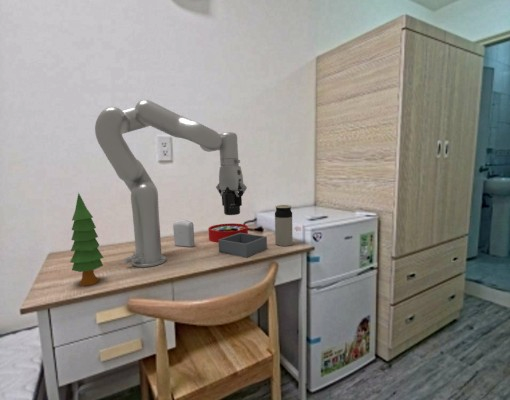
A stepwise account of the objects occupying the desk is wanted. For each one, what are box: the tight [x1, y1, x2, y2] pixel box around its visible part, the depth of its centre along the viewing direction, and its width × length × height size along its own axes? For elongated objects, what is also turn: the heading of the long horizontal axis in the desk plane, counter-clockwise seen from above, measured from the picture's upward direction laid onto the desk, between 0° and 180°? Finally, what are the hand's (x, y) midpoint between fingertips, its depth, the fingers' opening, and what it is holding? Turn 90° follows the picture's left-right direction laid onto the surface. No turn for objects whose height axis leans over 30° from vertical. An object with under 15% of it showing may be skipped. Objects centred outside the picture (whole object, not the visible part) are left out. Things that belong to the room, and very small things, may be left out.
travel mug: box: [274, 204, 294, 247], centre depth 139 cm, size 8×8×18 cm
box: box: [218, 233, 268, 259], centre depth 131 cm, size 15×15×6 cm
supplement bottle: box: [223, 187, 241, 216], centre depth 127 cm, size 7×7×12 cm
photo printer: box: [172, 219, 195, 248], centre depth 141 cm, size 10×4×12 cm, turn 63°
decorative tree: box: [69, 192, 104, 287], centre depth 99 cm, size 10×9×30 cm
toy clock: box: [208, 223, 249, 244], centre depth 154 cm, size 20×6×20 cm
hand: (231, 205), depth 127 cm, fingers closed on supplement bottle, 6 cm apart
